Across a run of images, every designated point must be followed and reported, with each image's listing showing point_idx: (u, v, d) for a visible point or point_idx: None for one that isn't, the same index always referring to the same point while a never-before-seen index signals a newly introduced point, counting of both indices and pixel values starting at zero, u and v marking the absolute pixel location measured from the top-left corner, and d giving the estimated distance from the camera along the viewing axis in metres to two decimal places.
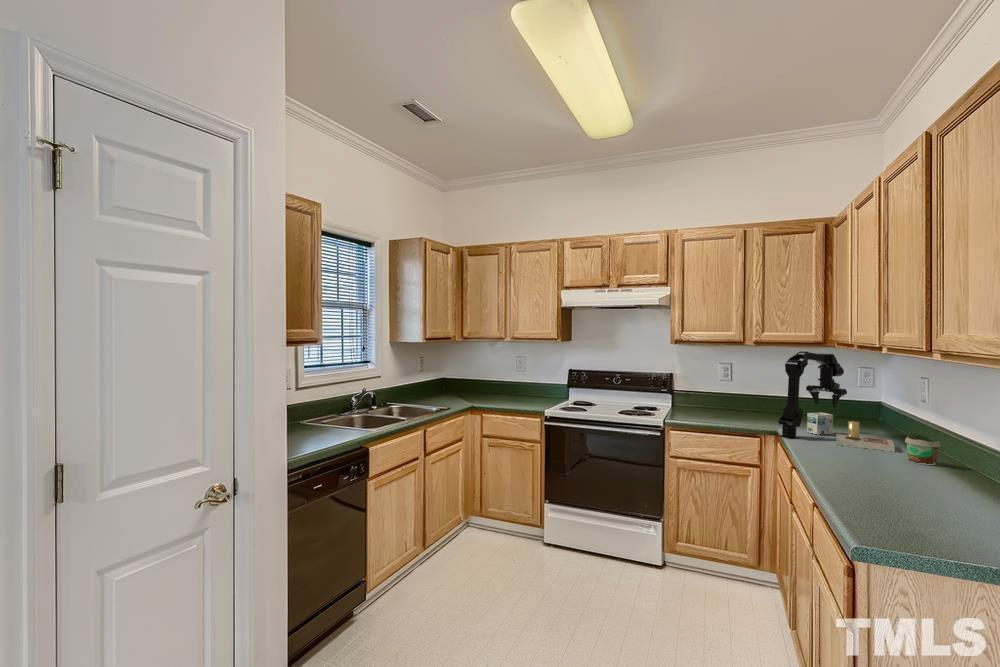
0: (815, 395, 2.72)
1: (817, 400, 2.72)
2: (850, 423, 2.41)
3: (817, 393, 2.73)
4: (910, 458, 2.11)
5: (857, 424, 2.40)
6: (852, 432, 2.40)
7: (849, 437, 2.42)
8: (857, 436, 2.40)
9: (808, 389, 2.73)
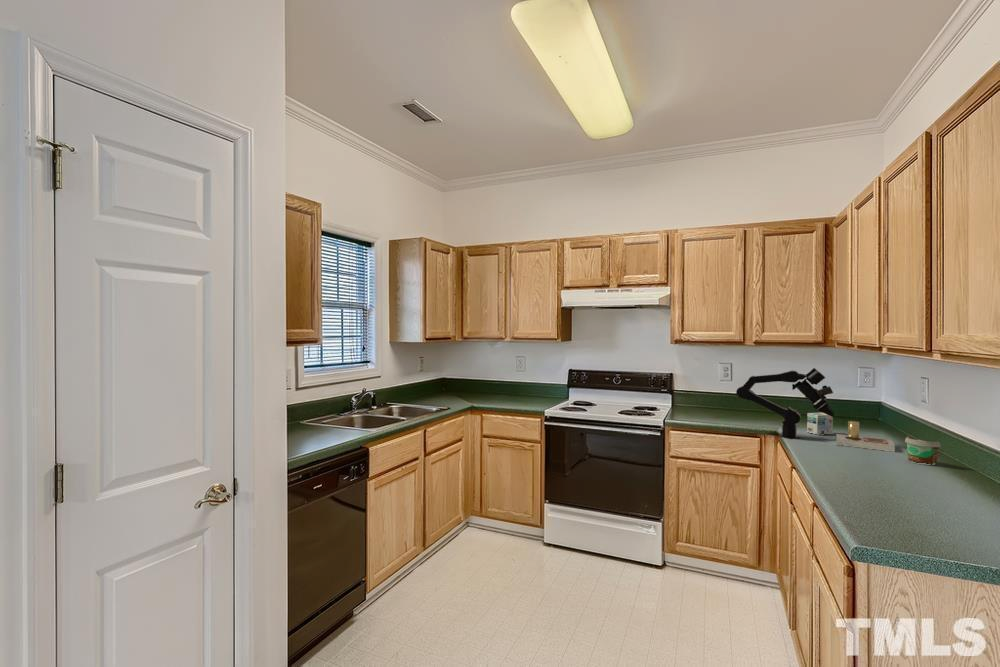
0: None
1: (829, 410, 2.51)
2: (850, 423, 2.41)
3: None
4: (910, 458, 2.11)
5: (857, 424, 2.40)
6: (853, 432, 2.40)
7: (849, 437, 2.42)
8: (857, 436, 2.40)
9: None
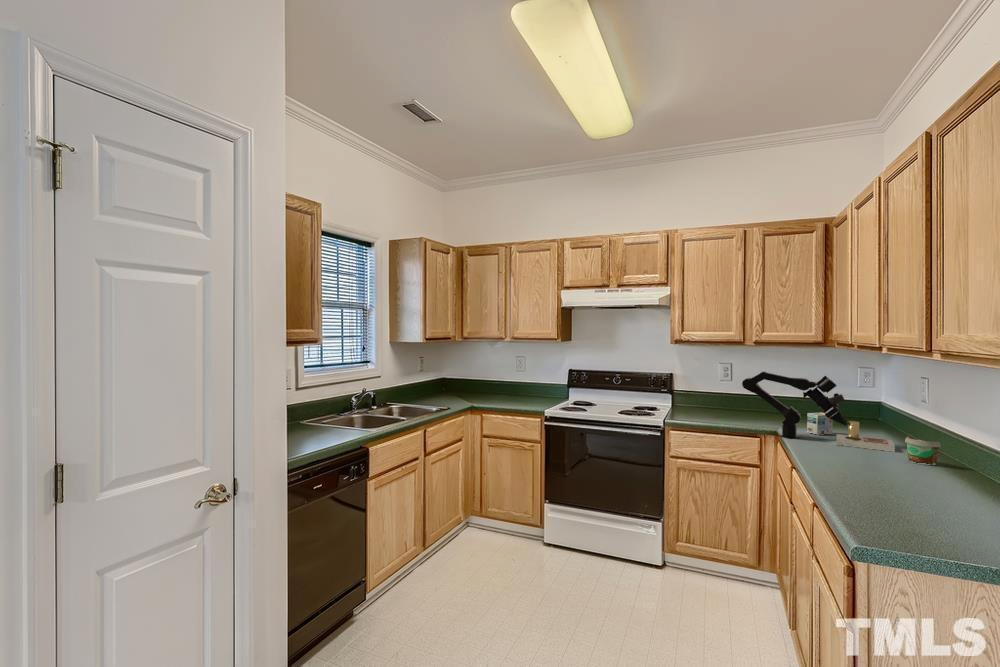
0: None
1: (842, 418, 2.48)
2: (850, 423, 2.41)
3: None
4: (910, 458, 2.11)
5: (857, 424, 2.40)
6: (852, 432, 2.40)
7: (849, 437, 2.42)
8: (857, 436, 2.40)
9: None
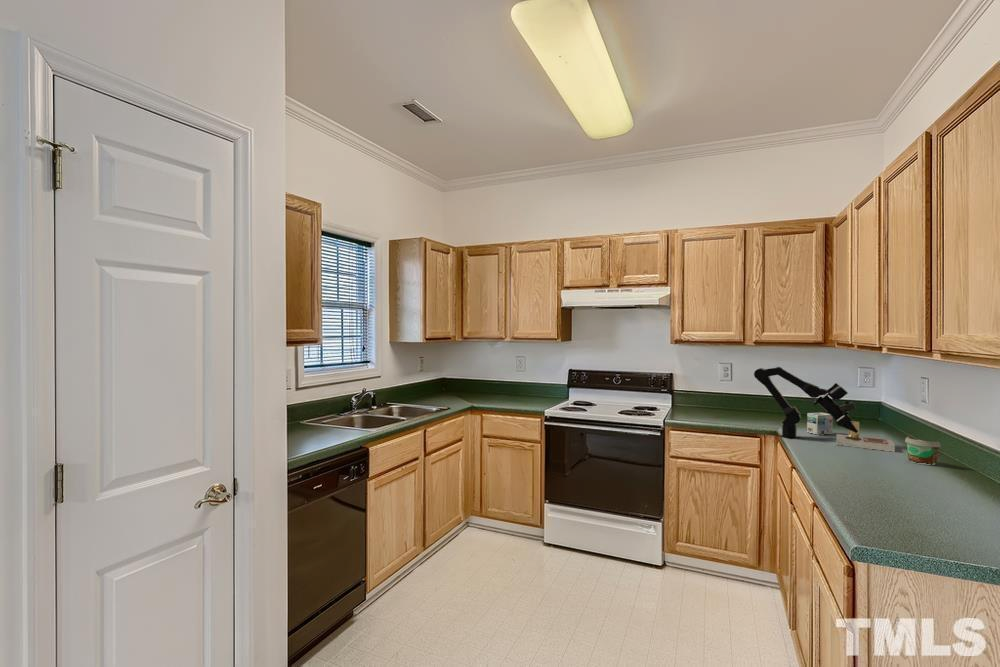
0: None
1: None
2: None
3: None
4: (910, 458, 2.11)
5: (857, 424, 2.40)
6: (853, 432, 2.40)
7: (849, 437, 2.42)
8: (857, 436, 2.40)
9: None
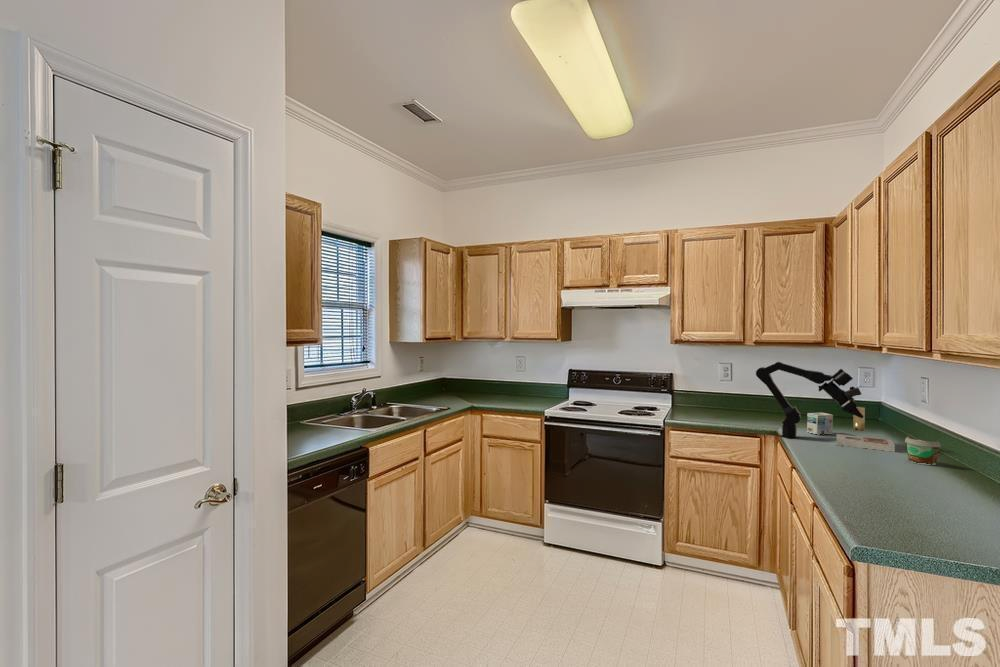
0: None
1: None
2: None
3: None
4: (910, 458, 2.11)
5: (863, 409, 2.39)
6: (858, 418, 2.39)
7: (855, 423, 2.40)
8: (863, 421, 2.39)
9: None
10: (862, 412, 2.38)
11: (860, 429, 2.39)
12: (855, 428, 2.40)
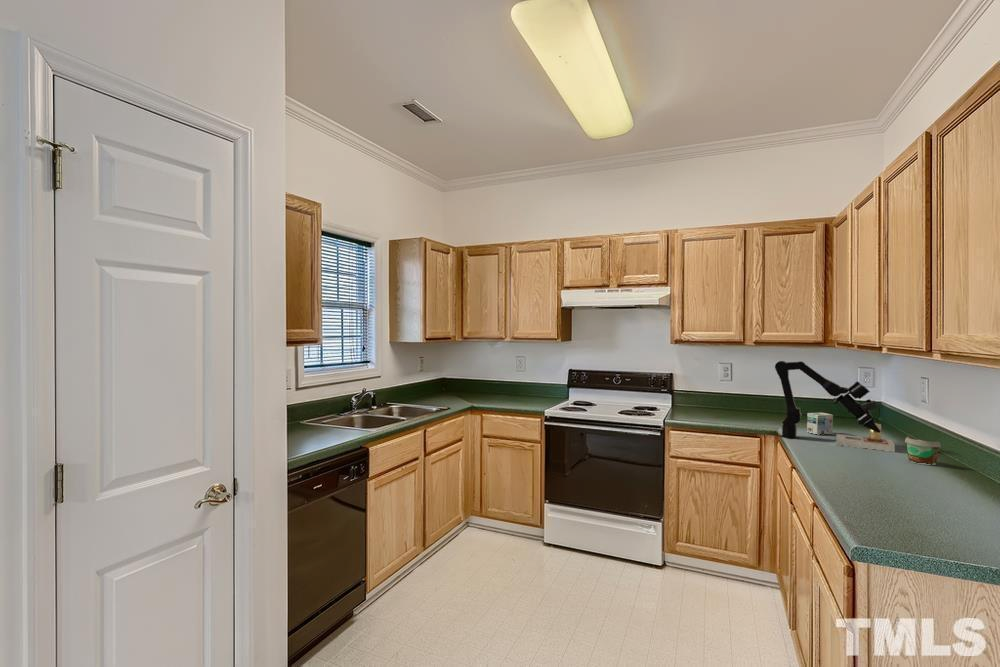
0: None
1: None
2: None
3: None
4: (910, 458, 2.11)
5: (879, 426, 2.35)
6: (874, 434, 2.36)
7: (871, 439, 2.37)
8: (879, 438, 2.35)
9: None
10: None
11: None
12: None
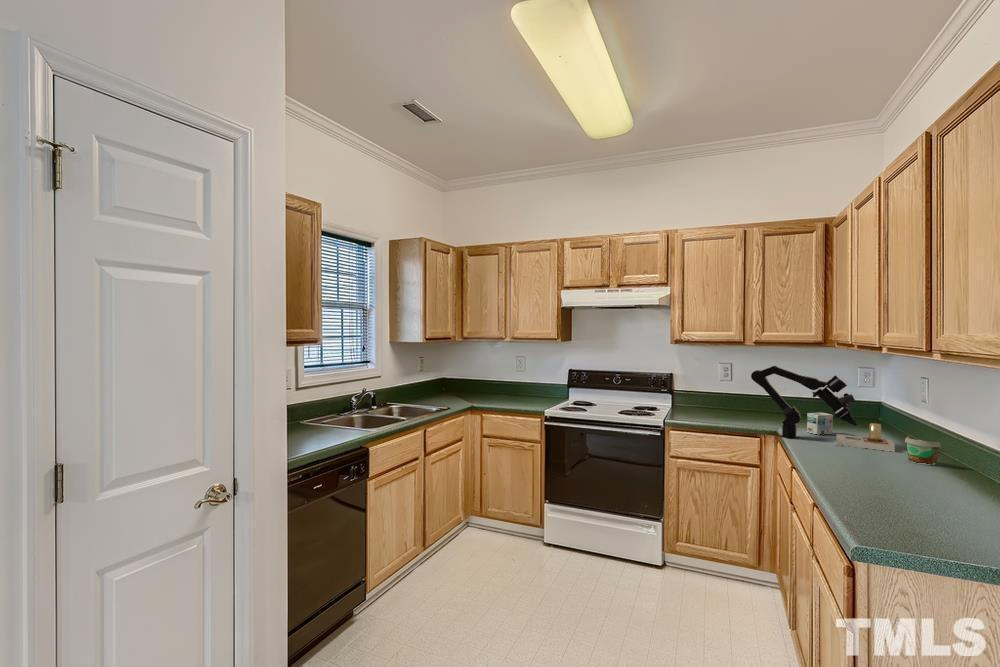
0: None
1: None
2: (872, 425, 2.36)
3: None
4: (910, 458, 2.11)
5: (879, 426, 2.35)
6: (874, 434, 2.36)
7: (871, 439, 2.37)
8: (879, 438, 2.35)
9: None
10: (878, 429, 2.35)
11: None
12: None
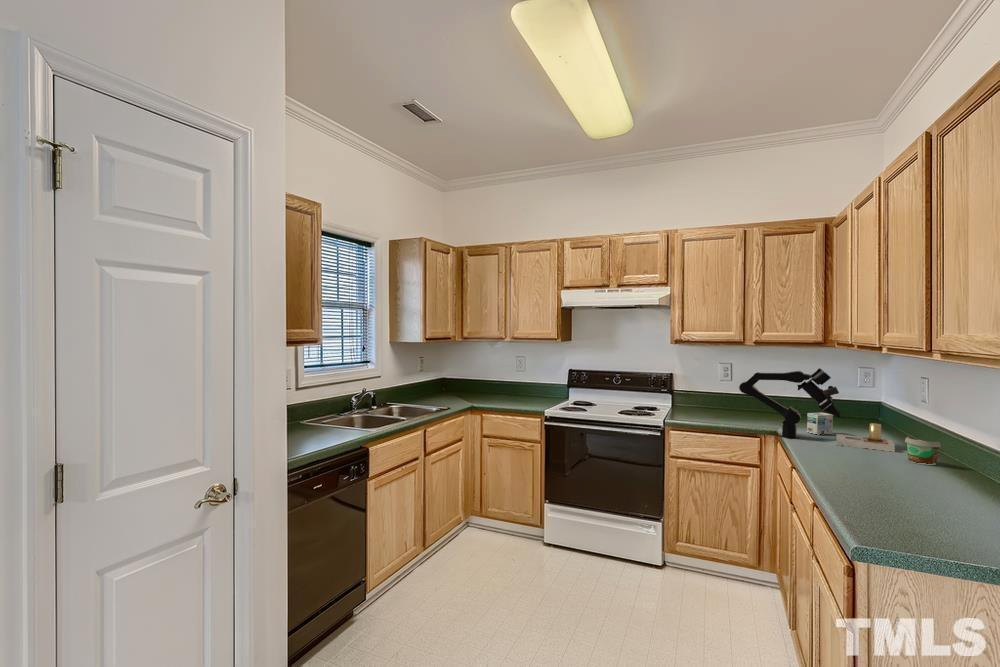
0: None
1: None
2: (872, 425, 2.36)
3: None
4: (910, 458, 2.11)
5: (879, 426, 2.35)
6: (874, 434, 2.36)
7: (871, 439, 2.37)
8: (879, 438, 2.35)
9: None
10: (878, 429, 2.35)
11: None
12: None
